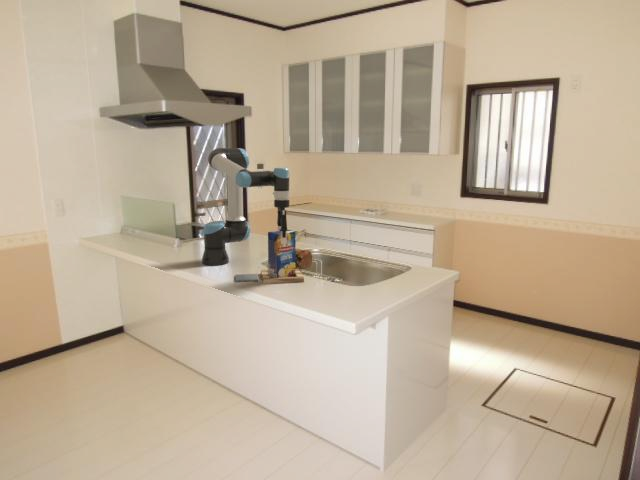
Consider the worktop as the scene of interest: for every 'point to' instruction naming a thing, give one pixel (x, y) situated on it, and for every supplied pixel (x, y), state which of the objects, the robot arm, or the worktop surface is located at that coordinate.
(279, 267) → the juice carton
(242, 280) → the plate
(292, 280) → the board
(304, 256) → the bread
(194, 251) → the worktop surface
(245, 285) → the worktop surface
